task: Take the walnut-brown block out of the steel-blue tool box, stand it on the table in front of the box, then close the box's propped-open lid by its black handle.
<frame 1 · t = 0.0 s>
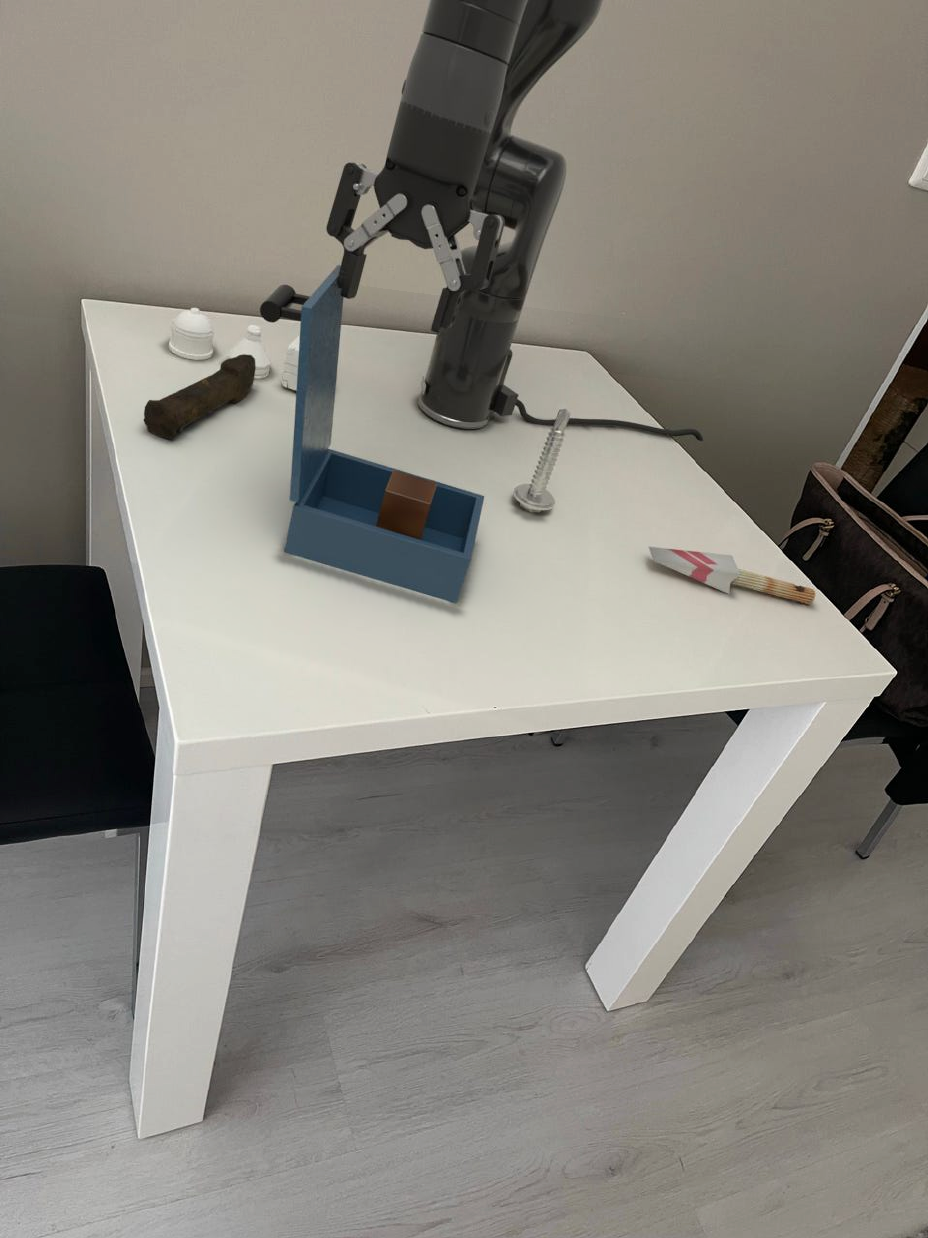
hand: (392, 313, 83), 22 cm above the table, tool pointing down, fingers open, 8 cm apart
screw: (528, 513, 109), on the table
brown block: (395, 547, 94), point 1 cm above the table, touching toolbox
container set: (247, 370, 119), on the table
knife with wooden handle: (726, 586, 108), on the table
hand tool: (203, 410, 108), on the table
toolbox lid: (293, 378, 86), point 15 cm above the table, hinge at 96.3°, touching gripper
toolbox: (381, 550, 95), on the table
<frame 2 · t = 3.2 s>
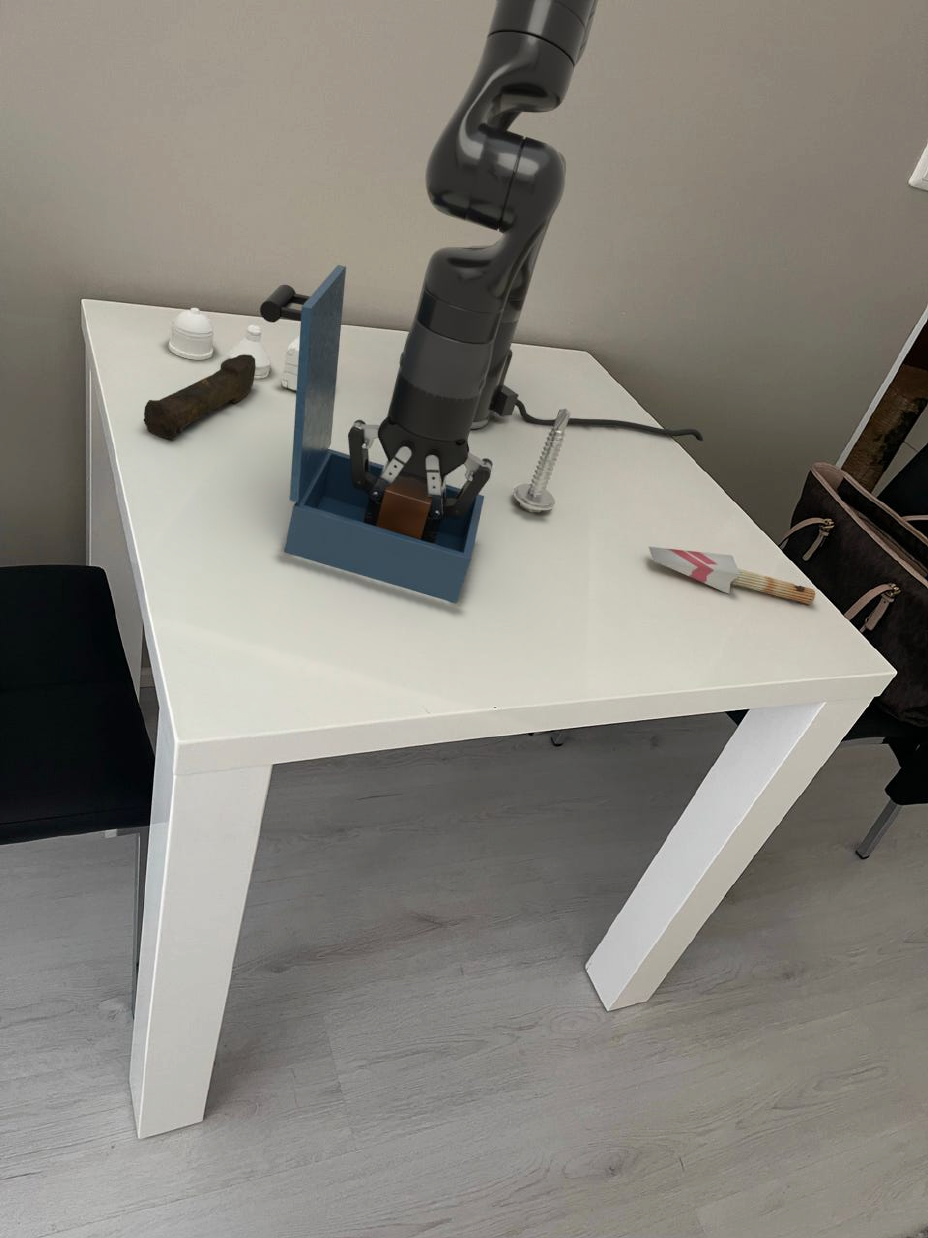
hand: (397, 536, 94), 2 cm above the table, tool pointing down, fingers closed on brown block, 4 cm apart
brown block: (395, 547, 94), point 1 cm above the table, touching gripper, toolbox
toolbox lid: (293, 378, 86), point 15 cm above the table, hinge at 96.3°
everything else where it was.
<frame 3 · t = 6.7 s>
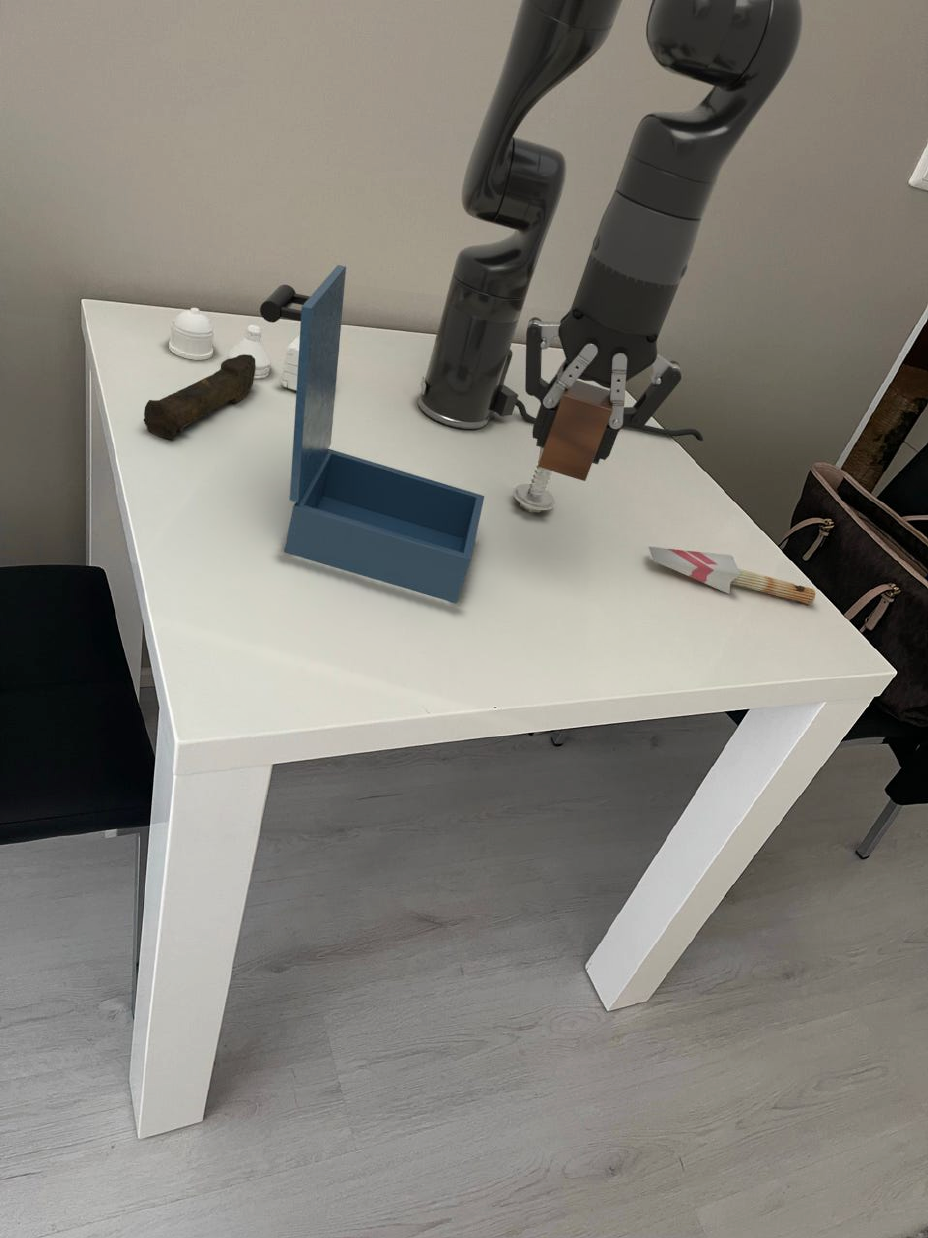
hand: (566, 450, 86), 16 cm above the table, tool pointing down, fingers closed on brown block, 4 cm apart
brown block: (562, 463, 86), point 15 cm above the table, touching gripper
everything else where it was.
when the fingers open (1 cm above the table, at t = 10.4 s): brown block stays where it is, on the table.
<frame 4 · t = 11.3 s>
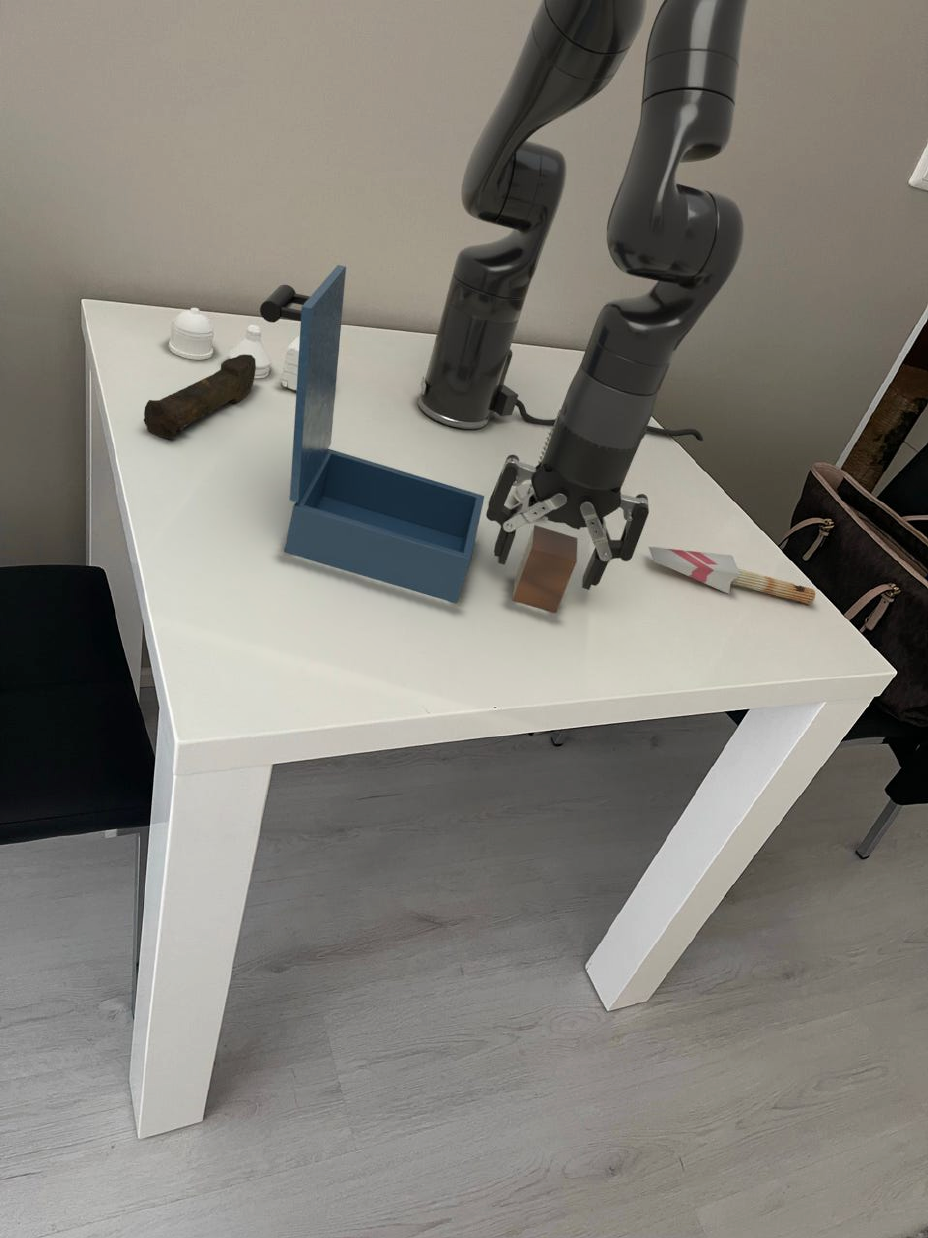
hand: (543, 572, 93), 3 cm above the table, tool pointing down, fingers open, 8 cm apart
brown block: (532, 600, 95), on the table
everything else where it was.
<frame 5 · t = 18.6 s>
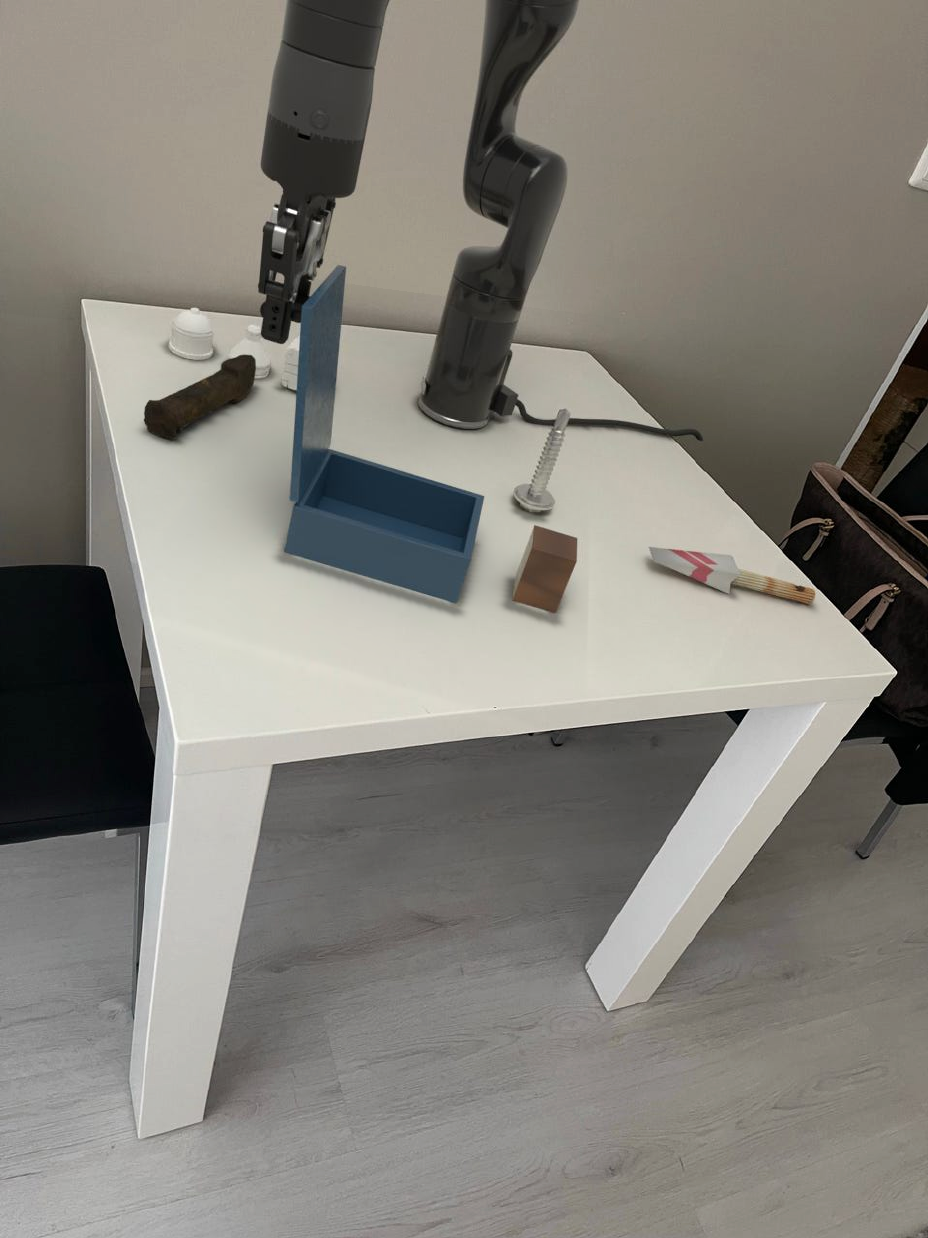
hand: (282, 328, 83), 19 cm above the table, tool pointing down, fingers closed on toolbox lid, 5 cm apart
toolbox lid: (293, 378, 86), point 15 cm above the table, hinge at 96.3°, touching gripper
everything else where it was.
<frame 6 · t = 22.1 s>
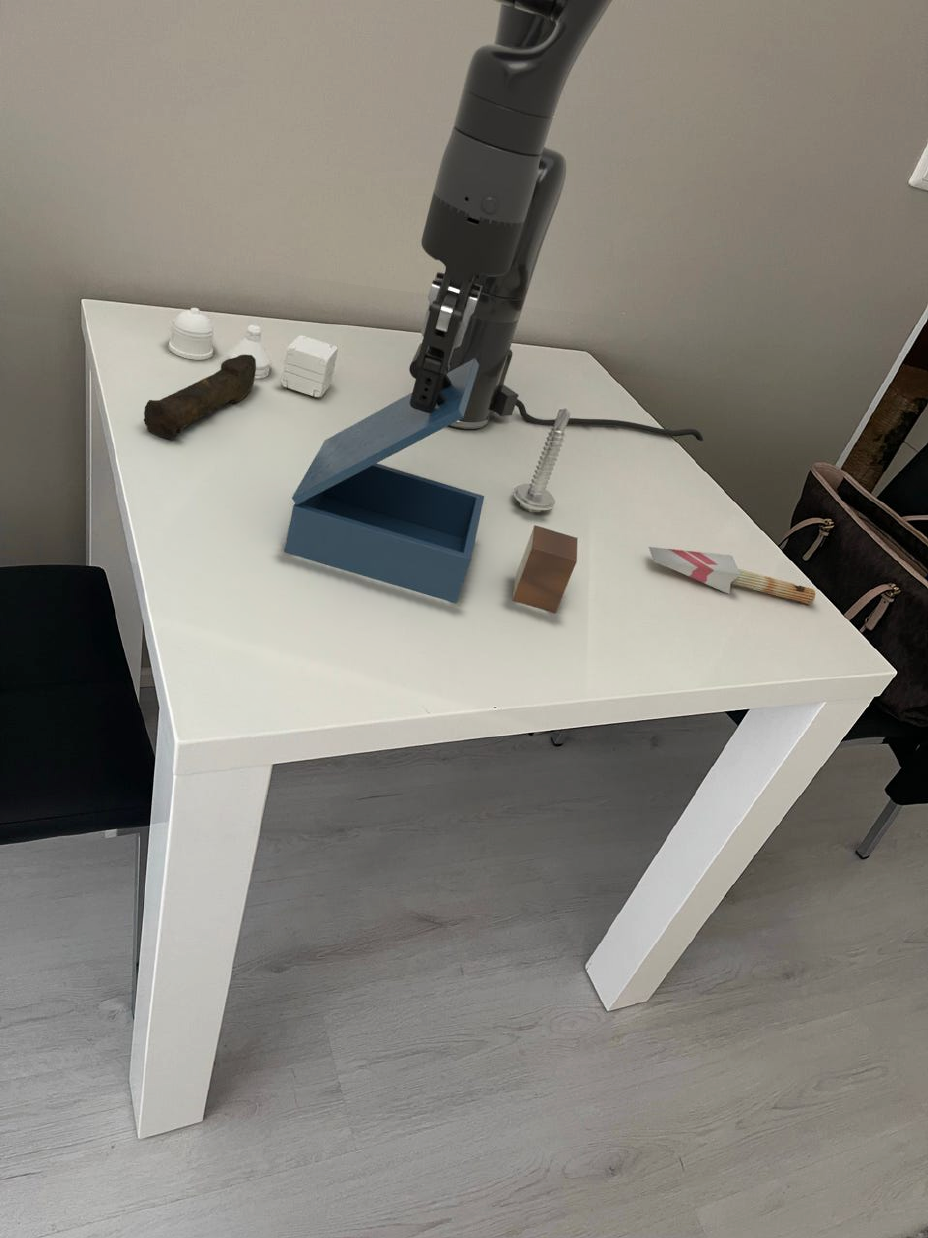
hand: (426, 396, 85), 17 cm above the table, tool pointing down, fingers closed on toolbox lid, 5 cm apart
toolbox lid: (374, 409, 86), point 14 cm above the table, hinge at 46.4°, touching gripper
everything else where it was.
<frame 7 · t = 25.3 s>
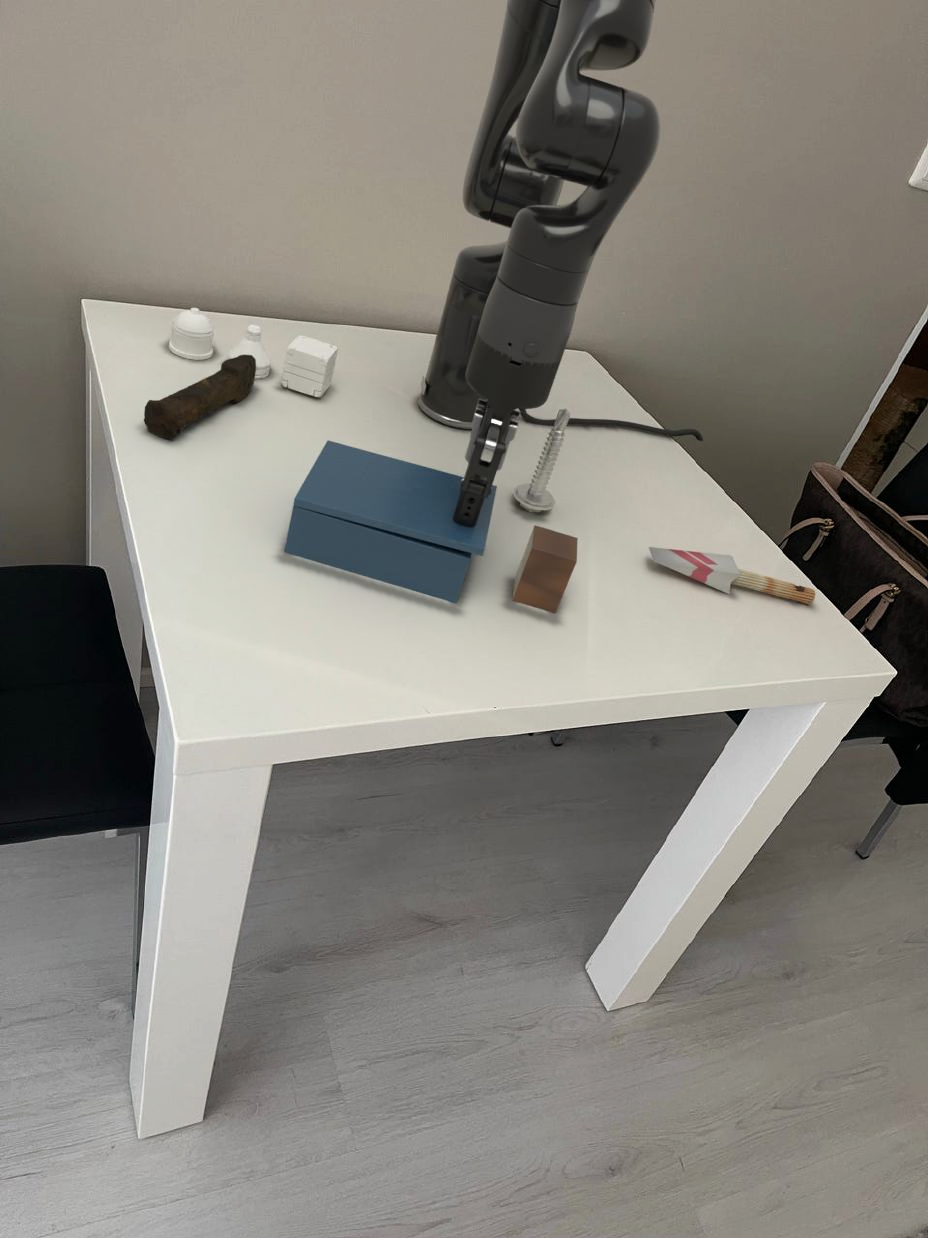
hand: (467, 508, 91), 7 cm above the table, tool pointing down, fingers closed on toolbox lid, 5 cm apart
toolbox lid: (405, 474, 90), point 9 cm above the table, hinge at 2.0°, touching gripper
everything else where it was.
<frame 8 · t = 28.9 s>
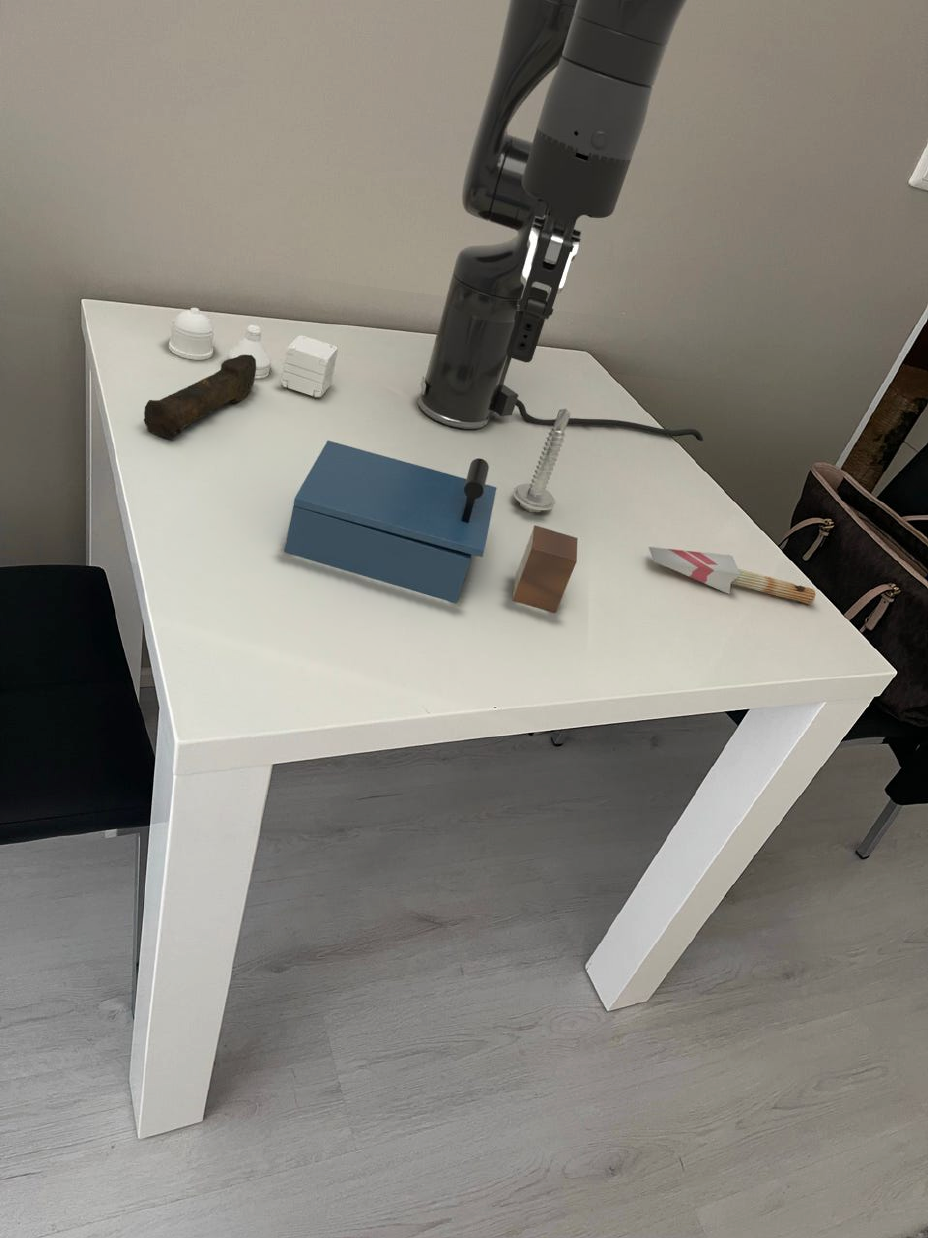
hand: (521, 341, 81), 24 cm above the table, tool pointing down, fingers open, 8 cm apart
toolbox lid: (405, 475, 90), point 9 cm above the table, hinge at 1.6°
everything else where it was.
at the end: brown block inside the target area (0.1 cm from its centre), on the table; brown block tilted 0°; toolbox lid at +2° (first picture: +96°) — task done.
